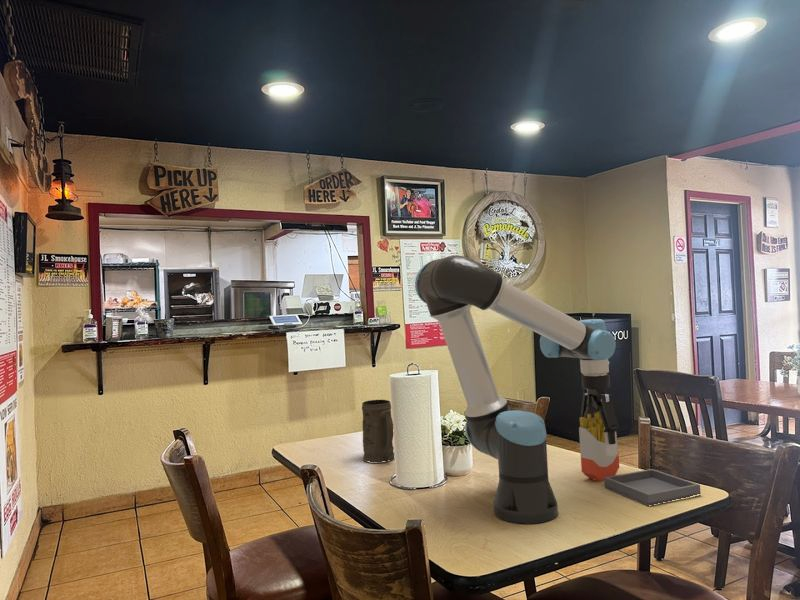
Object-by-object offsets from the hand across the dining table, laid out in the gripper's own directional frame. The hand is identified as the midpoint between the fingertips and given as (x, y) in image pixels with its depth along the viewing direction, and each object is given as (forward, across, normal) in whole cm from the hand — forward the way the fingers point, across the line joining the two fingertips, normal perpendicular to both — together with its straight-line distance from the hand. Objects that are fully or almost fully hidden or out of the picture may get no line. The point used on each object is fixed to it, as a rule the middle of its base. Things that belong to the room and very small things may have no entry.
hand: (600, 449), depth 160 cm
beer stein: (+7, +36, +60) cm, 71 cm away
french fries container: (+8, 0, 0) cm, 8 cm away
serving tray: (+8, -14, -7) cm, 18 cm away
